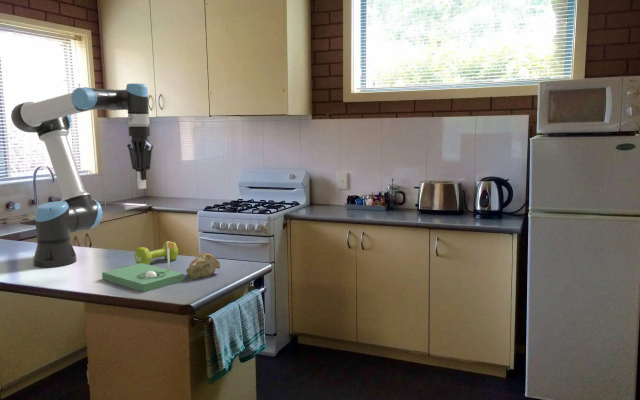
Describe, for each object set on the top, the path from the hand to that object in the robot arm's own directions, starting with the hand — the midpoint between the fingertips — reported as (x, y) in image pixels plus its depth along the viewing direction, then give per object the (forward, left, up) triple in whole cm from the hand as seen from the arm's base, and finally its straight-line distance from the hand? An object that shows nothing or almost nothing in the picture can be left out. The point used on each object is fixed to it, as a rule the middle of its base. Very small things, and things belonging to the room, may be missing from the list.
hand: (142, 188), depth 207 cm
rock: (+29, +2, -30) cm, 42 cm away
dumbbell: (+2, +4, -30) cm, 30 cm away
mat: (+18, -14, -29) cm, 37 cm away
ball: (+23, -14, -27) cm, 38 cm away
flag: (+24, -7, -29) cm, 39 cm away
